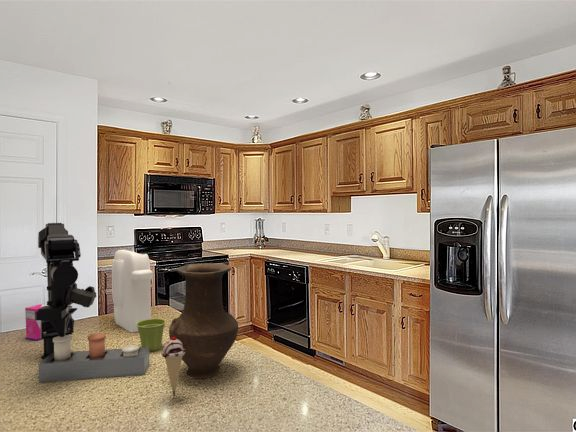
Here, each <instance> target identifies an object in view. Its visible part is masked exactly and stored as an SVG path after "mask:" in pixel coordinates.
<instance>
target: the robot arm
mask: <svg viewBox="0 0 576 432" xmlns="http://www.w3.org/2000/svg"><path fill="white" fill-rule="evenodd" d="M37 248H38V249H40V254H41V256H42V257H43V258H44V260H45V263H46V275H47V276H46V278H47V281H46V282H47V286H46V291H47V301H46V305H48V306H44V307H42V308H40V309H39V310H38V311H37V312H36V313H35V320H41V325H40V336H41V340H43V355H42V356H40V357H41V359H45V358H46V357H47V356H48V355H49V354H51V353H54V342H53V338H54V337H57V336H60V337H64V336H65V335H71V336H72V335H73V333H74V326H75V319H74V318H73V314H74V313H75V312H76V311H77V310H78V307H76V308H75V307H74V308H73V304H76V305H79V306H82V307H83V308H90V307H91V306H92V305H93V304H94V303H95V299H96V298H97V292H96V291H95V289H96V288H95V287H94V286H91V285H89V286H87V287H86V288H85V289H84V288H78V284H77V283H76V282H77V281H78V278H79V273H78V269H76V267H75V266H74V262H76V261H77V262H79V260H80V258H81V256H82V253H81V247H80V243H79V242H78V240H77V239H75V237H74V235H73V234H69V231H68V230H67V229H66V228H65V223H62V222H47V223H45V227H43V228H42V229H41V230H40V231H39V232H38V235H37ZM43 332H46V333H43Z"/></svg>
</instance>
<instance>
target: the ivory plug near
mask: <svg viewBox="0 0 576 432" xmlns="http://www.w3.org/2000/svg"><path fill="white" fill-rule="evenodd" d="M72 340H73V337H72V334H71V335H70V334H69V335H65V336H64V337H60V336H57V337H54V338H53V342H54V361H59V360H69V359H70V358H71V352H72V351H71V350H72V348H71V347H72V346H71V345H72V344H71V341H72Z"/></svg>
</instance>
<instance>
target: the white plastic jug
mask: <svg viewBox="0 0 576 432" xmlns="http://www.w3.org/2000/svg"><path fill="white" fill-rule="evenodd" d="M150 263H151V262H150V257H149V255H148V254H147V253H143V254H142V253H138V252H135V251H132V250H127V249H118V250H117V251H115V253H114V257H113V260H112V264H111V295H112V302H113V316H114V321H115V324H116V325H117V326H119V327H121V328H122V329H124V330H125V331H127V332H130V333H139V330H138V327H137V326H136V323H138V322H140V321H143V320H147V319H152V313H151V310H152V306H151V303H152V301H151V300H152V297H151V294H152V293H151V285H152V284H151V281H152V279H153V278H154V274H153V273H154V271H153V270H151V264H150Z"/></svg>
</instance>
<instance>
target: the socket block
mask: <svg viewBox="0 0 576 432" xmlns="http://www.w3.org/2000/svg"><path fill="white" fill-rule="evenodd" d="M37 365H38V368H37V369H38V383H51V382H65V381H74V380H75V381H76V380H89V379H102V378H114V377H115V378H118V377H129V376H141V375H142V376H143V375H145V374H146V372H147V370H148V368H149V365H150V350H149V347H140V346H139V350H138V355H133V356H123V352H122V348H110V349H105V356H104V358H89V350H79V351H71V358H70V359H69V360H59V361H54V353H51V354H49V355H48V356H47V357H46V358H43V359H42V361H40V362H39V363H38V364H37Z"/></svg>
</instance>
